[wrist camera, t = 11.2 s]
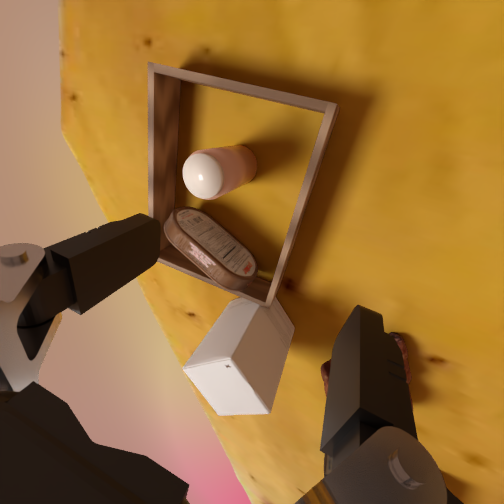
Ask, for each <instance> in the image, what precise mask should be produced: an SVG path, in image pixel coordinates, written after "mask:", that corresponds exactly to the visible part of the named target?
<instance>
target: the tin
mask: <svg viewBox="0 0 504 504" xmlns="http://www.w3.org/2000/svg"><path fill="white" fill-rule="evenodd" d="M164 232H165V234H166V237H167V238H168V240H169V241H170V242H171V243H172V244H173V245H174V246H175V247H176V248H177V249H178V250H179V251H180V252H181V253H183V254H184V255H185V256H186V257H187V258H188V259H189V260H191V261H192V262H193V263H194V264H195V265H196V266H197V267H198V268H200V269H201V270H202V271H203V272H204V273H205V274H206V275H207V276H209V277H210V278H211V279H212V280H213V281H214V282H215V283H217V284H218V285H219V286H221V287H223V288H225V289H228V290H231V291H243V290H245V289H246V288H247V287H248V286H249V284H250V283H251V282H252V281H253V280H254V279H255V278H256V276H257V272H258V266H257V263H256V260H255V258H254V257H253V255H252V254H251V253H250V251H249V250H248V249H247V248H246V247H245V246H243V245H242V244H241V243H240V242H239V241H238V240H237V239H236V238H234V237H233V236H232V235H231V234H230V233H229V232H228V231H227V230H225V229H224V228H223V227H222V226H221V225H220V224H219V223H217V222H216V221H215V220H214V219H213V218H212V217H210V216H209V215H208V214H206V213H205V212H203V211H201V210H199V209H196V208H193V207H180V208H176V209H175V210H173V212H172V213H171V215H170V216H169V218H168V219H167V220H166V222H165V224H164Z"/></svg>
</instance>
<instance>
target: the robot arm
mask: <svg viewBox="0 0 504 504" xmlns="http://www.w3.org/2000/svg"><path fill="white" fill-rule="evenodd" d="M160 238H161V224H160V222H159V221H158V220H156V219H154V218H152V217H149V216H147V215H145V214H142V213H139V214H136V215H134V216H131V217H129V218H126V219H124V220H120V221H114V222H110V223H107V224H105V225H102V226H100V227H98V229H97V228H95V229H92V230H90V231H88V232H87V233H86V232H84V233H82V234H79V235H77V236H74V237H72V238H69V239H67V240H64V241H61V242H59V243H56V244H54V245H51V246H49V247H46V248H44V249H43V248H42V247H40V246H38V245H34V244H28V243H18V244H9V245H4V246H1V247H0V504H190V503H189V502H188V501H187V499H186V496H187V492H188V488H189V484H187V483H186V482H184V481H183V480H181V479H180V478H178V477H177V476H175V475H174V474H172V473H171V472H169V471H168V470H166V469H165V468H163V467H162V466H160V465H159V464H157V463H156V462H154V461H153V460H151V459H150V458H148V457H147V456H144V455H140V454H136V453H132V452H128V451H124V450H119V449H115V448H111V447H107V446H103V445H99V444H96V443H94V442H92V440H91V439H90V438H89V436H88V435H87V433H86V432H85V430H84V429H83V427H82V426H81V424H80V422H79V421H78V419H77V418H76V416H75V415H74V413H73V412H72V410H71V409H70V407H69V405H68V404H67V403H66V402H64V401H63V400H61V399H60V398H58V397H57V396H55V395H54V394H52V393H51V392H49V391H48V390H46V389H45V388H43V387H42V386H40V385H39V384H38V376H39V370H40V367H41V364H42V362H43V360H44V358H45V356H46V353H47V351H48V349H49V347H50V344H51V342H52V340H53V337H54V335H55V333H56V331H57V328H58V326H59V324H60V322H61V319H62V313H61V312H62V311H64V310H65V309H67V308H69V309H71V310H73V311H75V312H76V313H78V314H80V315H82V314H83V313H85V312H86V311H87V310H89V309H90V308H92V307H93V306H95V305H96V304H98V303H99V302H100V301H102V300H103V299H105V298H106V297H108V296H109V295H111V294H112V293H114V292H115V291H117V290H118V289H120V288H121V287H123V286H124V285H126V284H127V283H128V282H130V281H131V280H133V279H134V278H136V277H137V276H139V275H140V274H142V273H143V272H145V271H146V270H147V269H149V268H150V267H152V266H153V265H154V264H155V263H156V262H157V260H158V258H159V255H160ZM404 367H405V366H404V360H403V354H402V351H401V349H400V347H399V346H398V344H397V342H396V340H395V339H394V337H393V336H392V335H389V334H387V333H385V332H384V326H383V318H382V315H381V314H379V313H377V312H375V311H372V310H370V309H367V308H365V307H363V306H360V305H357V306H356V307H355V308H354V310H353V311H352V313H351V315H350V316H349V318H348V319H347V321H346V323H345V324H344V326H343V328H342V329H341V331H340V332H339V334H338V336H337V338H336V340H335V343H334V347H333V351H332V359H331V367H330V375H329V383H328V391H327V399H326V407H325V415H324V423H323V431H322V438H321V446H320V451H322V452H323V453H325V454H327V455H329V456H331V457H332V469H331V472H330V473H329V474H328V475H327V476H326V477H324V478H323V479H322V480H321V481H320V482H319V483H318V484H316V485H315V486H314V487H313V488H312V489H310V490H309V491H308V492H307V493H306V494H305V495H304V496H303V497H301V498H300V499H299V500H298V501H297V502H296V503H295V504H464V503H462V502H461V501H460V500H459V499H458V498H457V497H455V496H454V495H453V494H452V493H451V492H450V491H449V490H448V489H447V488H446V486H445V482H444V479H443V476H442V474H441V472H440V470H439V468H438V466H437V464H436V462H435V461H434V459H433V458H432V456H431V455H430V454H429V452H428V451H427V450H426V449H425V447H424V446H423V445H422V444H421V443H420V442H419V441H418V438H417V433H416V427H415V422H414V416H413V410H412V405H411V399H410V394H409V388H408V383H406V381H407V377H406V371H405V370H404Z"/></svg>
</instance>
